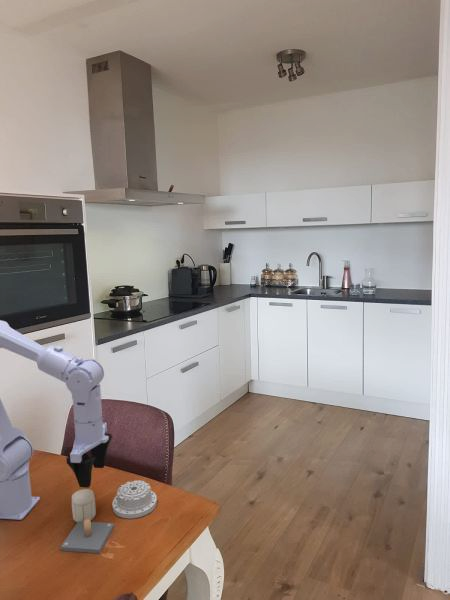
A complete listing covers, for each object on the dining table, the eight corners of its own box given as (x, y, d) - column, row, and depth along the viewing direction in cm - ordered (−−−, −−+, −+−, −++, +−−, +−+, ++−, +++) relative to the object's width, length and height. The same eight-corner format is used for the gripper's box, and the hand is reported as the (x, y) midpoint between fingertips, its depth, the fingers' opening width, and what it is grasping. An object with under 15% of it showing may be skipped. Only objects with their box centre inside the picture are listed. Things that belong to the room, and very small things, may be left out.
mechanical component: (105, 517, 102) (147, 522, 100) (103, 499, 101) (146, 503, 99) (123, 491, 112) (162, 495, 110) (122, 474, 111) (162, 478, 109)
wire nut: (69, 521, 100) (68, 500, 99) (79, 508, 105) (77, 488, 104) (90, 523, 100) (88, 501, 99) (98, 509, 104) (96, 489, 103)
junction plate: (60, 550, 92) (59, 532, 91) (78, 524, 99) (77, 507, 99) (99, 553, 90) (98, 534, 90) (114, 526, 98) (113, 509, 98)
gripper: (92, 434, 91) (96, 497, 93) (118, 405, 105) (121, 460, 107) (58, 432, 92) (63, 495, 94) (88, 403, 106) (92, 458, 108)
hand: (92, 476), depth 101 cm, fingers open, 7 cm apart
